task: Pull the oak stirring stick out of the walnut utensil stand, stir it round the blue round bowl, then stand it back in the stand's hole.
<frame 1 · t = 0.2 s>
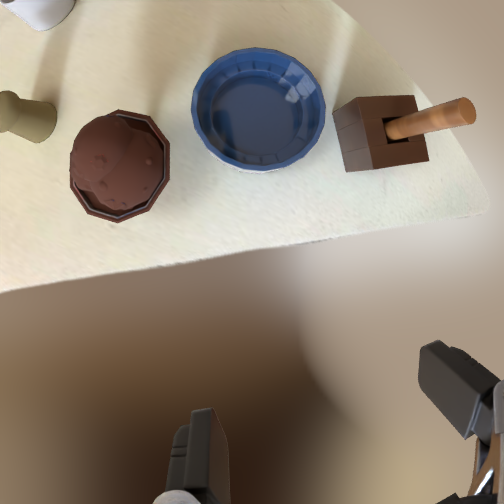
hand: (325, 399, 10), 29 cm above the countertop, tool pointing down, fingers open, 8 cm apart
cork: (41, 122, 32), on the countertop
blue round bowl: (254, 117, 35), on the countertop
stirring stick: (405, 126, 27), in the utensil stand
ice cream bowl: (142, 170, 35), on the countertop
utensil stand: (365, 138, 37), on the countertop
mug: (62, 7, 28), on the countertop
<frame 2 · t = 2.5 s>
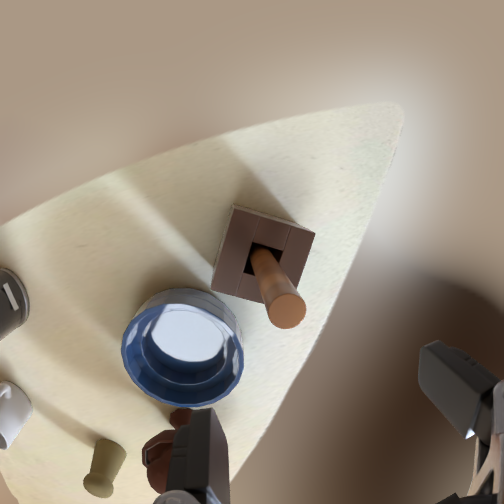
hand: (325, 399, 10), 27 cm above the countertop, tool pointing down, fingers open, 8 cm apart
cork: (111, 449, 42), on the countertop
blue round bowl: (186, 337, 38), on the countertop
stirring stick: (265, 267, 27), in the utensil stand
ice cream bowl: (187, 419, 41), on the countertop
utensil stand: (255, 245, 36), on the countertop
mug: (16, 392, 39), on the countertop
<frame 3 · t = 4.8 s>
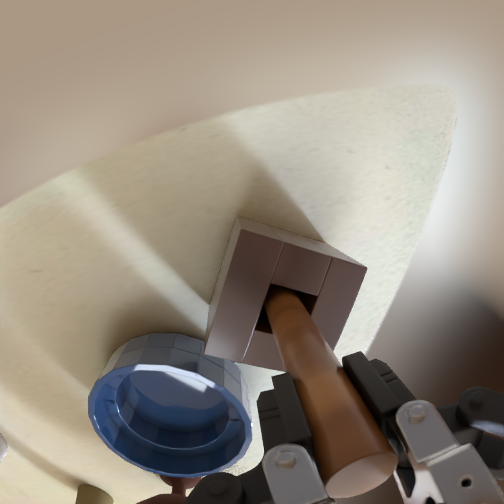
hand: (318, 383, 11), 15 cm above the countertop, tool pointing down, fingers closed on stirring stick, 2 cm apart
cork: (96, 494, 31), on the countertop
blue round bowl: (175, 391, 27), on the countertop
stirring stick: (293, 328, 16), in the utensil stand, touching gripper
ice cream bowl: (180, 474, 31), on the countertop
utensil stand: (268, 275, 26), on the countertop
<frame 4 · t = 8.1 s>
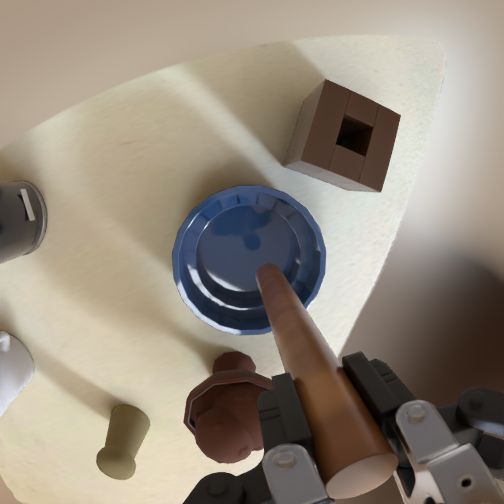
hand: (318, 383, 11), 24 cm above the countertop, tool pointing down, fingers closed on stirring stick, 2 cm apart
cork: (130, 418, 38), on the countertop
blue round bowl: (246, 251, 34), on the countertop
stirring stick: (293, 328, 16), point 18 cm above the countertop, touching gripper
ice cream bowl: (233, 369, 37), on the countertop
utensil stand: (326, 145, 32), on the countertop
mug: (15, 349, 34), on the countertop
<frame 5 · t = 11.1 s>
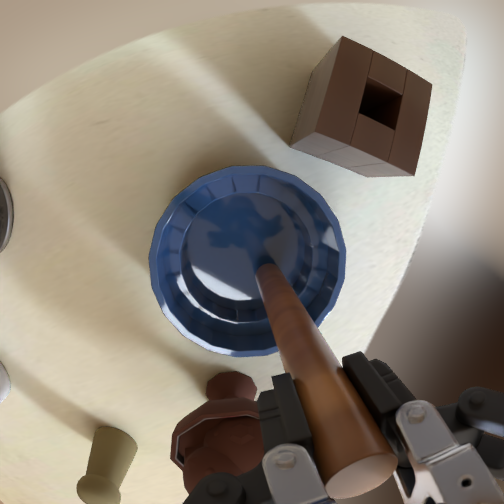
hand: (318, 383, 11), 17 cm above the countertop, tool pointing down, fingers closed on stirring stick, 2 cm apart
cork: (116, 441, 31), on the countertop
blue round bowl: (244, 251, 27), on the countertop
stirring stick: (293, 328, 16), point 12 cm above the countertop, touching gripper
ice cream bowl: (231, 390, 30), on the countertop
utensil stand: (341, 123, 26), on the countertop
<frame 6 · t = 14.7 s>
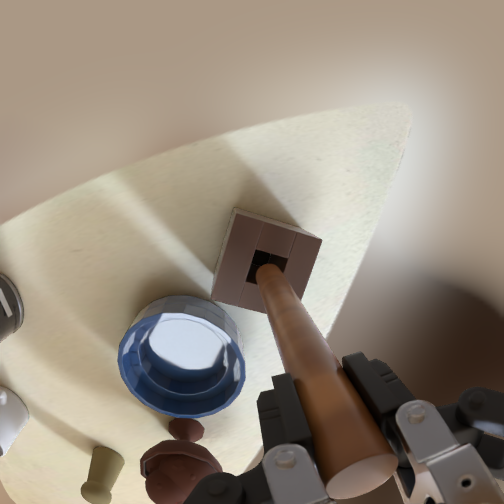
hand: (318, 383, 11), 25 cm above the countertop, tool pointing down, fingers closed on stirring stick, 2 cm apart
cork: (109, 456, 40), on the countertop
blue round bowl: (185, 345, 37), on the countertop
stirring stick: (293, 328, 16), point 20 cm above the countertop, touching gripper
ice cream bowl: (186, 428, 40), on the countertop
utensil stand: (257, 251, 35), on the countertop
mug: (12, 398, 37), on the countertop
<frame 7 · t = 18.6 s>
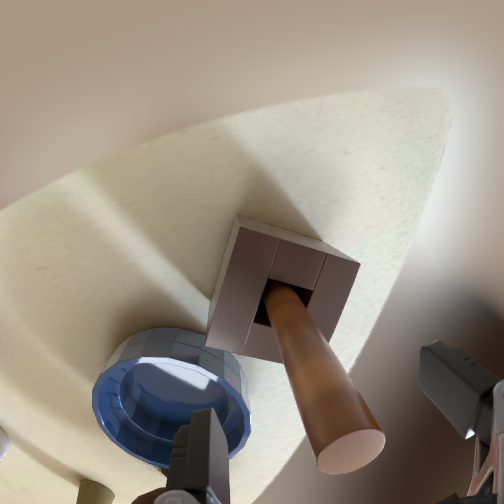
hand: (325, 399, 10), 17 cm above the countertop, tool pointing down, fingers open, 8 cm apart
cork: (97, 489, 32), on the countertop
blue round bowl: (176, 385, 28), on the countertop
stirring stick: (290, 320, 17), in the utensil stand
ice cream bowl: (181, 469, 32), on the countertop
utensil stand: (267, 272, 27), on the countertop
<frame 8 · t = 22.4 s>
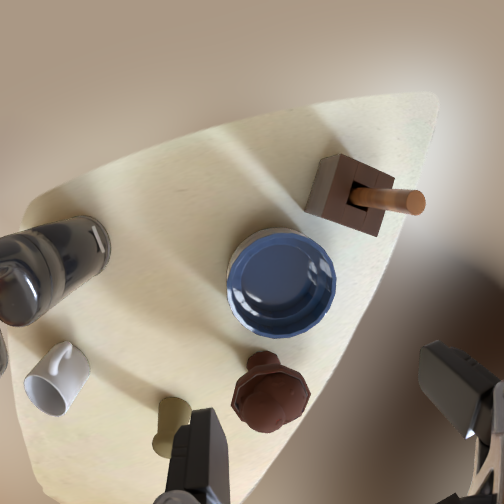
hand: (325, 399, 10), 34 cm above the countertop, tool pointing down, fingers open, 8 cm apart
cork: (175, 408, 48), on the countertop
blue round bowl: (276, 275, 44), on the countertop
stirring stick: (367, 197, 33), in the utensil stand
ice cream bowl: (263, 364, 48), on the countertop
utensil stand: (337, 194, 43), on the countertop
mug: (72, 355, 45), on the countertop
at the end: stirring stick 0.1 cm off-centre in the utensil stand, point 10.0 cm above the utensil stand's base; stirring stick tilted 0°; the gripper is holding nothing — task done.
